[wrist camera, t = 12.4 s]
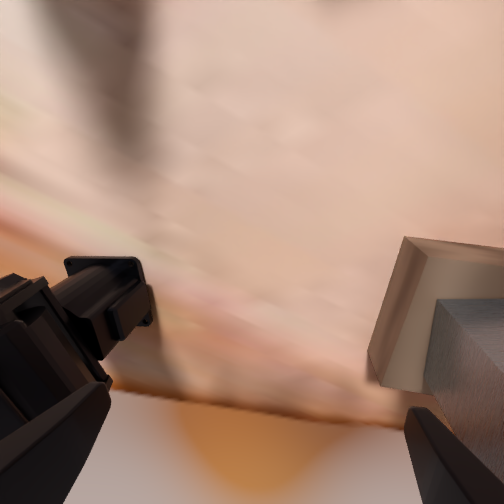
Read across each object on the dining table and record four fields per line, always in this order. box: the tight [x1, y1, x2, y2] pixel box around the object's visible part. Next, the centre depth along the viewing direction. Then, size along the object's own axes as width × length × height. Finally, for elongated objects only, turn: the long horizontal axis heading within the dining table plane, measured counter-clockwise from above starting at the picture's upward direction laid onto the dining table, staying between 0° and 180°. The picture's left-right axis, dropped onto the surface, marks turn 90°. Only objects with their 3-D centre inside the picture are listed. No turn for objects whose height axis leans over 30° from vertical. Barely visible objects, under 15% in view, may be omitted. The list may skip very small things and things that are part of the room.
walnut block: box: [367, 236, 504, 395], centre depth 18 cm, size 10×10×4 cm
